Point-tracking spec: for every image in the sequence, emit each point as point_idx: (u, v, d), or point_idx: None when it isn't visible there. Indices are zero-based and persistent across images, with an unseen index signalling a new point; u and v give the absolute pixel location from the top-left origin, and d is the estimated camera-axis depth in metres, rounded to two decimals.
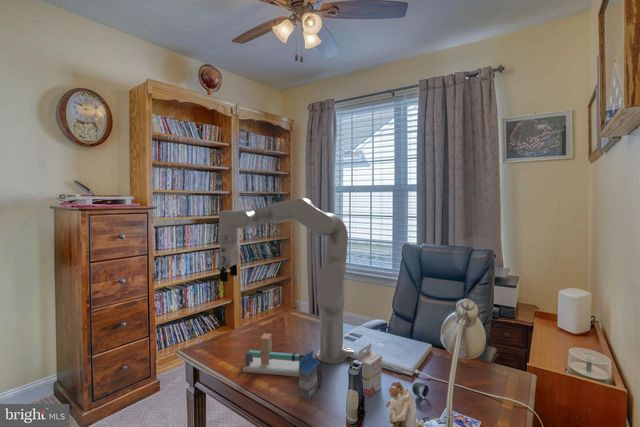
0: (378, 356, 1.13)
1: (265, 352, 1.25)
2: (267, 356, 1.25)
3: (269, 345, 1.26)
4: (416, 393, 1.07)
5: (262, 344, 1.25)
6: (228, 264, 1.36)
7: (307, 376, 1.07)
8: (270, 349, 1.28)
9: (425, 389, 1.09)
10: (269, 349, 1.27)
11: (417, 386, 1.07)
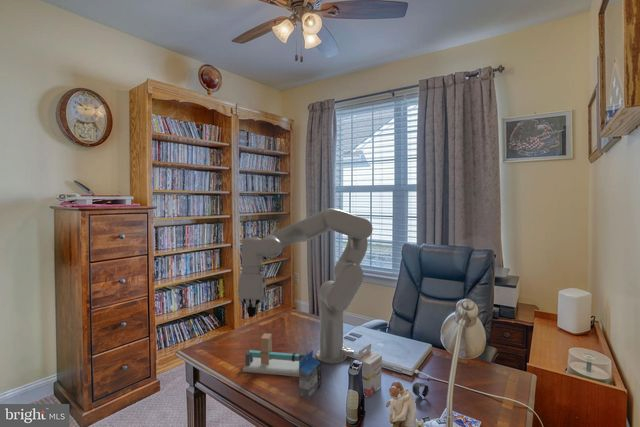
0: (378, 356, 1.13)
1: (265, 352, 1.25)
2: (267, 356, 1.25)
3: (269, 345, 1.26)
4: (416, 393, 1.07)
5: (262, 344, 1.25)
6: (265, 293, 1.28)
7: (307, 376, 1.07)
8: (270, 349, 1.28)
9: (425, 389, 1.09)
10: (269, 349, 1.27)
11: (417, 386, 1.07)
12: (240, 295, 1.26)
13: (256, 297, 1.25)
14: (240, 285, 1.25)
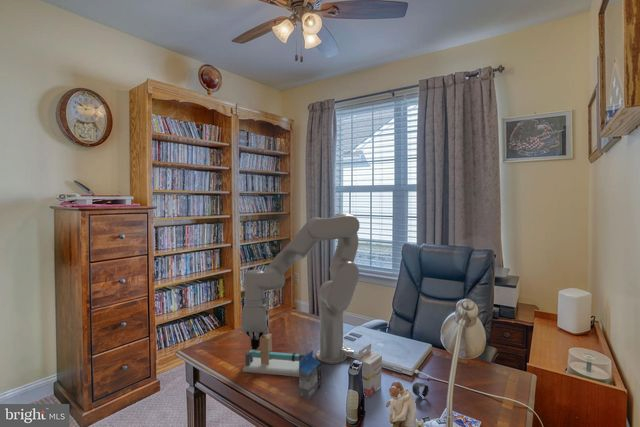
0: (378, 356, 1.13)
1: (266, 352, 1.25)
2: (267, 356, 1.25)
3: (269, 345, 1.26)
4: (416, 393, 1.07)
5: (262, 344, 1.25)
6: None
7: (307, 376, 1.07)
8: (270, 349, 1.28)
9: (425, 389, 1.09)
10: (269, 349, 1.27)
11: (417, 386, 1.07)
12: (243, 328, 1.26)
13: (259, 330, 1.25)
14: (243, 318, 1.26)
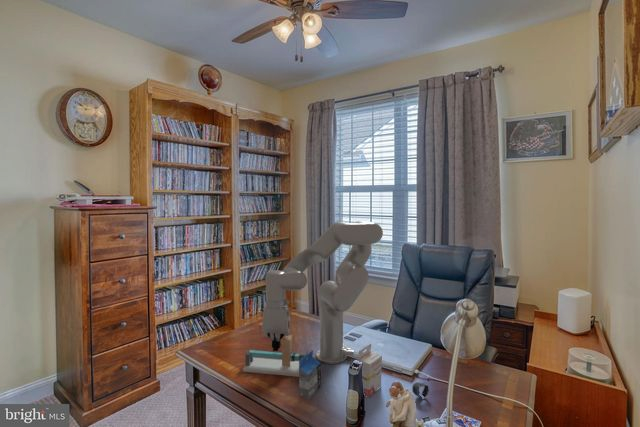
0: (378, 356, 1.13)
1: (287, 354, 1.24)
2: (288, 358, 1.24)
3: (290, 347, 1.25)
4: (416, 393, 1.07)
5: (283, 346, 1.24)
6: (289, 327, 1.28)
7: (307, 376, 1.07)
8: (291, 351, 1.26)
9: (425, 389, 1.09)
10: (290, 351, 1.25)
11: (417, 386, 1.07)
12: (264, 329, 1.25)
13: (281, 331, 1.24)
14: (264, 319, 1.25)
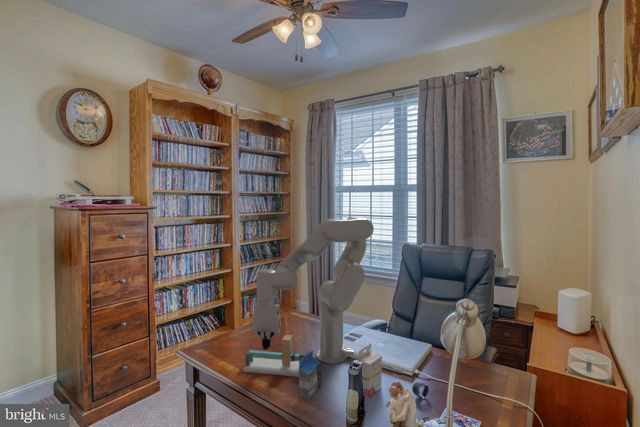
0: (378, 356, 1.13)
1: (287, 354, 1.24)
2: (288, 358, 1.24)
3: (290, 347, 1.25)
4: (416, 393, 1.07)
5: (283, 346, 1.24)
6: None
7: (307, 376, 1.07)
8: (291, 351, 1.26)
9: (425, 389, 1.09)
10: (290, 351, 1.25)
11: (417, 386, 1.07)
12: (255, 328, 1.25)
13: (271, 330, 1.24)
14: (255, 318, 1.25)
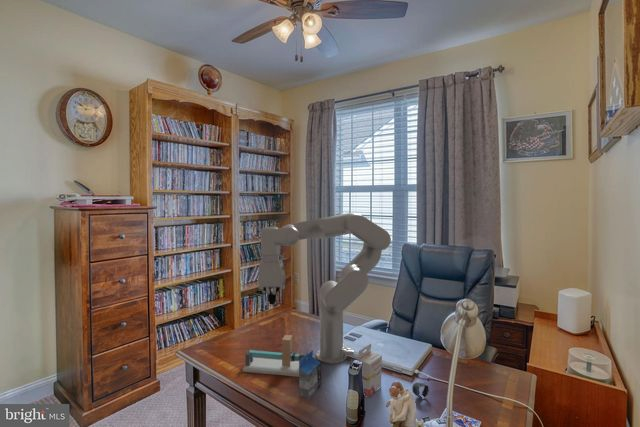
0: (378, 356, 1.13)
1: (287, 354, 1.24)
2: (288, 358, 1.24)
3: (290, 347, 1.25)
4: (416, 393, 1.07)
5: (283, 346, 1.24)
6: (284, 281, 1.32)
7: (307, 376, 1.07)
8: (291, 351, 1.26)
9: (425, 389, 1.09)
10: (290, 351, 1.25)
11: (417, 386, 1.07)
12: (260, 283, 1.29)
13: (276, 284, 1.28)
14: (260, 274, 1.29)
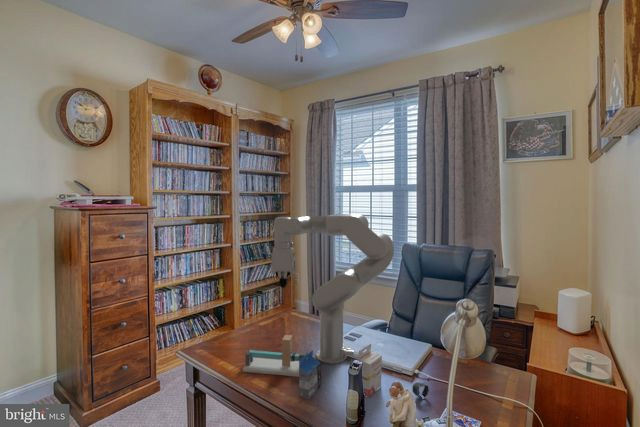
0: (378, 356, 1.13)
1: (287, 354, 1.24)
2: (288, 358, 1.24)
3: (290, 347, 1.25)
4: (416, 393, 1.07)
5: (283, 346, 1.24)
6: (295, 267, 1.44)
7: (307, 376, 1.07)
8: (291, 351, 1.26)
9: (425, 389, 1.09)
10: (290, 351, 1.25)
11: (417, 386, 1.07)
12: (273, 268, 1.41)
13: (287, 269, 1.40)
14: (273, 259, 1.41)
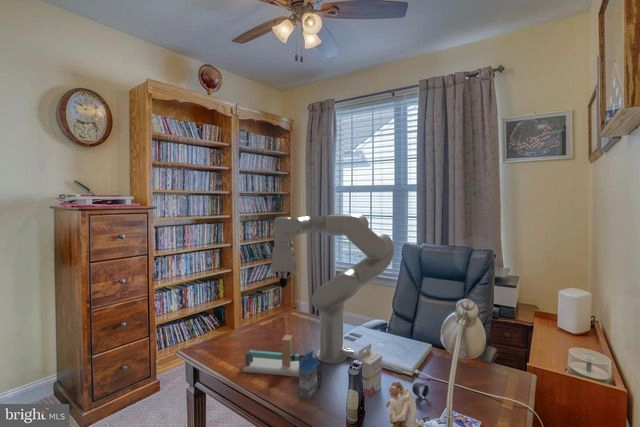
0: (378, 356, 1.13)
1: (287, 354, 1.24)
2: (288, 358, 1.24)
3: (290, 347, 1.25)
4: (416, 393, 1.07)
5: (283, 346, 1.24)
6: (295, 267, 1.44)
7: (307, 376, 1.07)
8: (291, 351, 1.26)
9: (425, 389, 1.09)
10: (290, 351, 1.25)
11: (417, 386, 1.07)
12: (273, 268, 1.41)
13: (287, 269, 1.40)
14: (273, 259, 1.41)
